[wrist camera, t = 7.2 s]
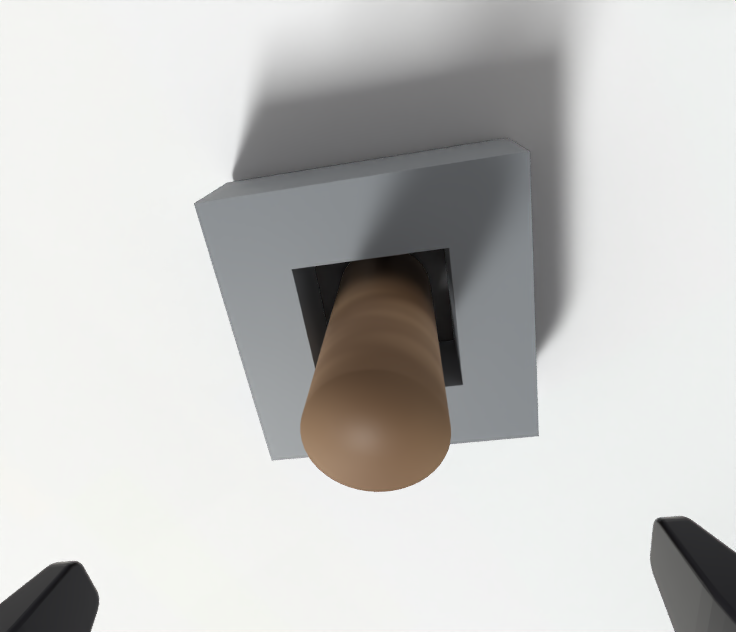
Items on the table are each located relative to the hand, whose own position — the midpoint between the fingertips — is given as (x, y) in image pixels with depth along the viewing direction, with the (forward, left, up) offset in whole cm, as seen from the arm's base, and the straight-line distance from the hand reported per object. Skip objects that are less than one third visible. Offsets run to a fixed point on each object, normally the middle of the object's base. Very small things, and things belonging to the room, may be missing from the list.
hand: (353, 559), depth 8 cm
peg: (0, 0, -11) cm, 11 cm away
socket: (0, 0, -11) cm, 11 cm away
